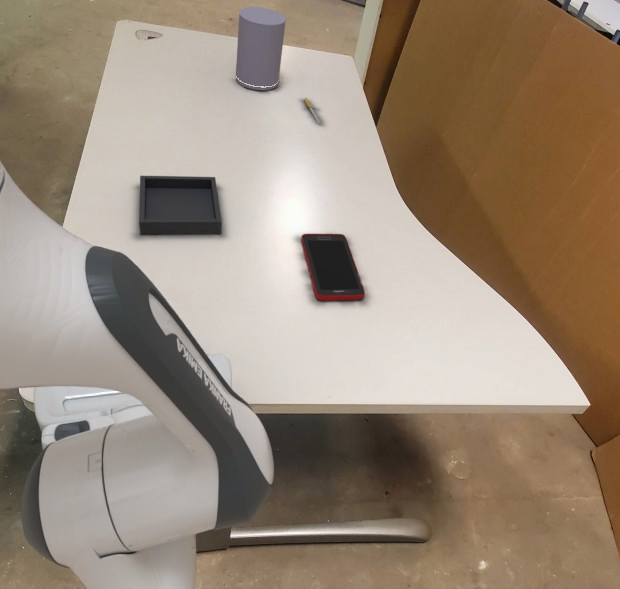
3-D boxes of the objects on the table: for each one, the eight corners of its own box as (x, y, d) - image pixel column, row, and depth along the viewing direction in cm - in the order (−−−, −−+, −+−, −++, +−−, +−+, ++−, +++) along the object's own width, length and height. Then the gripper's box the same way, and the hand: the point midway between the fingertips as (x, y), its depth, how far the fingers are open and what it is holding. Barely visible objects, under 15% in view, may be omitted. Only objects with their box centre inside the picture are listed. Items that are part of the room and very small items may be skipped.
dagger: (324, 123, 117) (316, 121, 116) (323, 126, 118) (315, 125, 117) (309, 98, 124) (302, 96, 123) (308, 101, 124) (301, 99, 123)
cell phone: (343, 237, 90) (344, 233, 89) (365, 300, 80) (366, 295, 79) (299, 237, 88) (300, 233, 87) (316, 301, 78) (317, 296, 77)
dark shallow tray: (140, 235, 82) (139, 222, 80) (141, 188, 91) (140, 175, 89) (221, 234, 86) (221, 221, 84) (214, 189, 94) (215, 176, 92)
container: (277, 75, 131) (285, 11, 121) (278, 94, 124) (286, 27, 114) (236, 69, 130) (240, 4, 119) (234, 88, 123) (238, 20, 112)
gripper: (246, 413, 53) (227, 312, 62) (22, 444, 47) (36, 327, 56) (242, 444, 57) (224, 345, 66) (36, 475, 52) (47, 362, 61)
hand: (136, 337), depth 61 cm, fingers open, 8 cm apart
